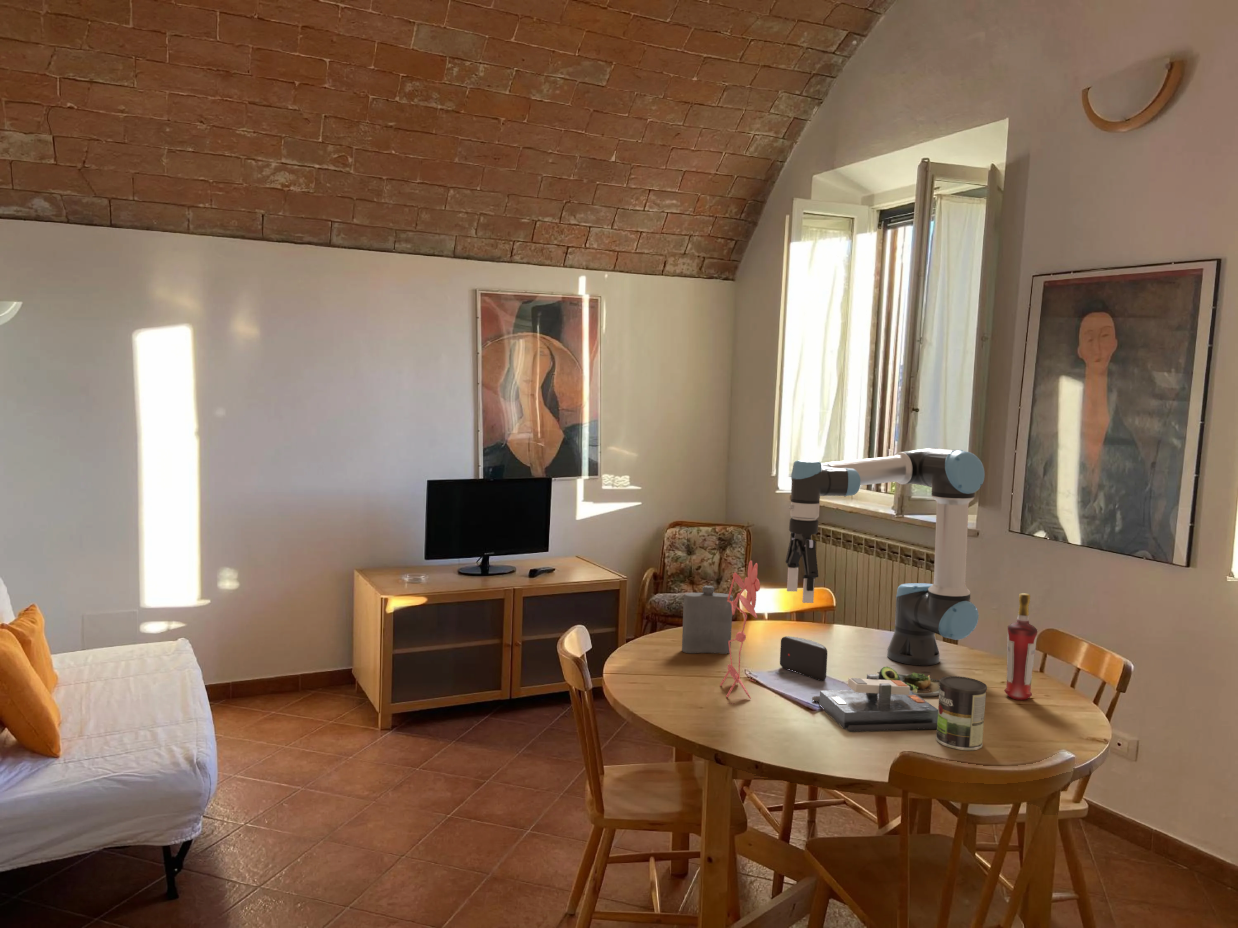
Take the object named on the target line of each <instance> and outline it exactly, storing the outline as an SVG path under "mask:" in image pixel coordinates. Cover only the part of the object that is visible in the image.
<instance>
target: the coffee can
mask: <svg viewBox="0 0 1238 928" xmlns="http://www.w3.org/2000/svg"><path fill="white" fill-rule="evenodd" d="M938 680H939V683H940V684H939V686H940V690H939V695H938V707H937V709H938V721H937V729H936V736H935V739H936V740H935V741H936V742H938V743H939V744H940V745H943V746H944V747H947V748H950V749H954V750H958V751H967V752H968V751H969V752H970V751H976V750H979V749H982V748H983V739H984V737H983V736H984V724H985V723H984V722H985V707H986V697H987V690H988V686H987V684H986V683H985V682H983V681H980V680H978V679H975V678H970V677H966V676H957V675H951V676H950V675H948V676H943V677H941V678H940V679H938Z"/></svg>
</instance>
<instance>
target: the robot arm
mask: <svg viewBox="0 0 1238 928" xmlns="http://www.w3.org/2000/svg"><path fill="white" fill-rule="evenodd" d="M985 472H986V471H985V468H984V464H983V463H982V460H981V459H980V458H979V457H978V456H977V455H976V454H974V453H973V452H970V451H966V450H963V449H950V448H939V447H927V448H919V449H913V450H905V451H899V452H895V454H893V455H892V456H891V455H890V456H880V457H871V458H861V459H850V460H840V461H839V460H838V461H829V462H820V460H810V459H798V460H795V461H794V462H793V464H792V469H791V476H790V479H791V490H790V505H788V509H789V510H790V512H789V515H790V519H789V525H788V526H789V527H788V528H789V529H788V530H789V532H790V539H789V544H788V548H787V552H786V558H785V564H787V580H786V581H787V582H786V592H798V586H799V585H798V583H799V568H800V567H801V566H800V559H801V560H802V565H803V573H804V574H803V576H802V579H803V587H802V600H801V601H802V603H803V604H805V603H806V604H813V603H814V597H815V580H816V578H819V569H818V559H817V550H816V549H817V547H816V545H817V541H816V539H812V535H816V534H818V532H819V520H818V518H820V505H821V503H820V499H821V497H849V496H852V497H853V496H855V495H856V494H857V493H858V492H859V491H860V489H861V486H867V485H876V484H877V485H878V484H887V483H895V482H896V483H897V484H899V485H909V484H910V485H916V486H917V485H918V486H922V487H923V486H924V487H928V488H931V495H930V496H931V497H932V499H933V500H934V501H936V509H935V510H936V512H935V515H936V516H935V541H934V545H935V546H934V565H933V566H934V570H933V583H925V582H923V583H922V582H921V583H920V582H917V583H915V582H913V583H911V582H910V583H901V584H900V585H899V586H898V587H897V589H896V596H895V614H894V615H895V616H894V617H895V619H894V632H893V635H892V637H891V640H890V642H889V644H888V647H887V651H886V652H887V658H889V659H890V660H892V661H894V662H897V663H901V664H904V665H913V666H933V665H937V664H939V662H940V652H939V647H938V644H937V639H936V635H939V636H941V637H943V638H945V639H951V640H956V641H958V640H960V641H961V640H963V639H965V638H966V639H967V637H969V636H970V635H971V633H972V632H974V630H975V629H976V627H977V625H978V622H979V618H980V617H979V616H980V615H979V610H978V608H977V607H976V605H975V604H974V602H971V591H970V590H969V589H968V587H967V586H966V578H967V577H966V576H967V575H966V574H967V552H968V530H969V529H968V525H969V524H968V523H969V522H968V521H969V504H970V502H972V501H974V499H975V495H976V492H978V491H979V490H980V488H981V486H983V483H984V481H985ZM935 634H936V635H935Z"/></svg>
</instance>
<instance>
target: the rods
mask: <svg viewBox="0 0 1238 928" xmlns="http://www.w3.org/2000/svg"><path fill="white" fill-rule="evenodd" d="M811 700H812V701H813V700H814V701H818V702H817V703H819V701H820V695H817V696H812V698H811ZM814 701H813V702H814ZM847 730H848V732H872V731H874V732H877V731H881V732H882V731H910V730H911V731H913V730H914V731H917V730H937V723H915V724H878V725H849V726H848V729H847Z"/></svg>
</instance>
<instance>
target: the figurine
mask: <svg viewBox="0 0 1238 928" xmlns="http://www.w3.org/2000/svg"><path fill="white" fill-rule="evenodd" d="M758 566H759V565H758V563H757V562H756V563H755V564H754V565H753V560H750V561H749V562H748V567H747V577H745V578H744V580H743V579H742V578H741V576H740V575H739V574H738V573H737V572H735V571H734V573H733V574H732V580H731V585H730V588H729V592H728V594H729V595H728V599H727V602H729V603H731V606H732V616H734V615H735V613H736V609H737V610H738V611H740V613H742V614H743V615H744V619H743V625H742V631H738V632H737V633H736V634H735V638H733V639H731V640H730V641H728V644H729V652H730V653H729V658H730V664H727V672H726V673H725V675H724V677H723V679H722V680H721V682H720V684H719V686H720V687H722V686H723V685H724V682H725V681H726V679H727V678H728V676H729V675H730V677H732V679H733V680H734V682H733V683H732V685H731V686H730V689H729V690H728V691H727V694H726V697H727V698H729V696H730V694H731V692H732V691H733V689H734V687H735V686H736V684H739V685H740V686H741V688H742V690H743V691H744V693H745V694H746V695H747V697H748V698H749V699H750V700H751V699H752V697H751V696H750V694H749V692H748V690H747V688H746V686H745V685H744V683H743V682H742V680H741V677H740V673H741V672H740V671H741V650H742V648H743V644H744V642H745V640H747V639H746V638H747V637H746V636H747V635H746V633H745V632H744V631H745V627H746V623H747V618H748V615H747V613H746V612H745V611H744V610H743V609H741V608H740V607H738V606H737V605H738V603H739V601H740V603H741V604H742V606H743V607H744V608H745V610H746V611H747V612H748V613H749V614H750V615H751V616H752V617H754V618H755V619H758V615H757V613H756V610H755V608H756V604H757V592H759V591H760V589H761V582H760V580H759V578H758V575H759V574H758V569H759V568H758ZM734 584H736V585H738V587H739V588H740V589H741V590H740V592H738V593H737V594H736V597H735V598H734V599H733V602H732V601H730V600H729V599H730V595H732V590H733V586H734ZM744 590H745V591H746V597H745V596H744V595H742V593H743V592H744ZM735 641H737V642H739V643H740V647H739V650H738V671H737V670H736V668H735V667H734V666H733V658H732V650H731V649H732V648H731V649H730V642H731V643H732V642H735ZM751 681H752V682H755V680H753V679H751ZM728 704H729V705H735V703H734V702H728Z"/></svg>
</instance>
